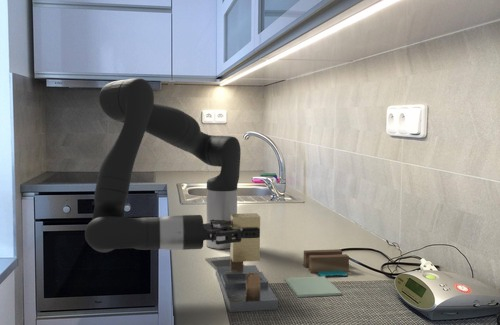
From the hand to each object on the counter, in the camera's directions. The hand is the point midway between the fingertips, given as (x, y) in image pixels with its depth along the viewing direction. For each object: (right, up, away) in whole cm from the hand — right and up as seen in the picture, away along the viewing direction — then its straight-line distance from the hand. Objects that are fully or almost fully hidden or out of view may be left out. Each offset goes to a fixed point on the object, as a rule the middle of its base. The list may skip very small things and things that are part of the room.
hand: (257, 230), depth 118 cm
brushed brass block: (-3, -7, 0) cm, 7 cm away
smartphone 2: (+18, -13, +19) cm, 29 cm away
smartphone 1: (-8, -13, +20) cm, 25 cm away
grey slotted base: (-3, -14, +1) cm, 14 cm away
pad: (+13, -14, +3) cm, 19 cm away
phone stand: (+18, -12, +19) cm, 29 cm away
